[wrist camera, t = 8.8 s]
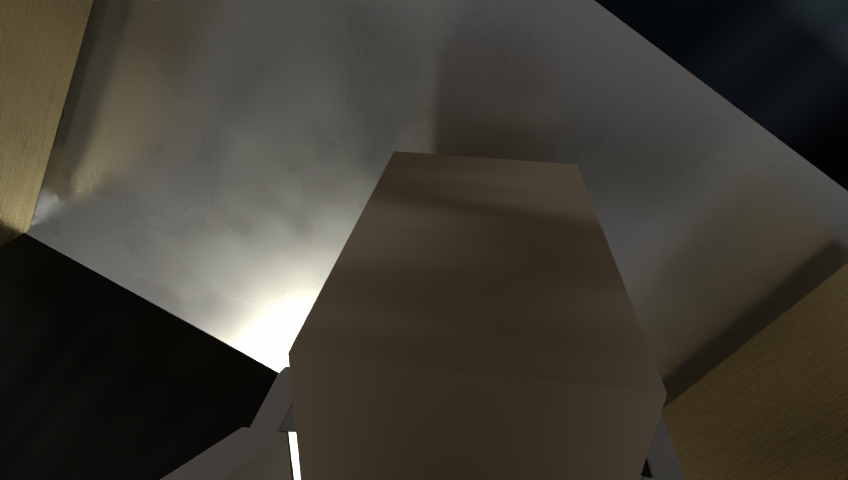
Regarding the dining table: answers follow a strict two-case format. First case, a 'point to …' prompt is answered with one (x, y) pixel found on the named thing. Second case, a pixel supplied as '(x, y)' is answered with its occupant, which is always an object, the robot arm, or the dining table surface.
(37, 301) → the dining table surface
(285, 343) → the vise base
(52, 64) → the block
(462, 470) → the maple block
